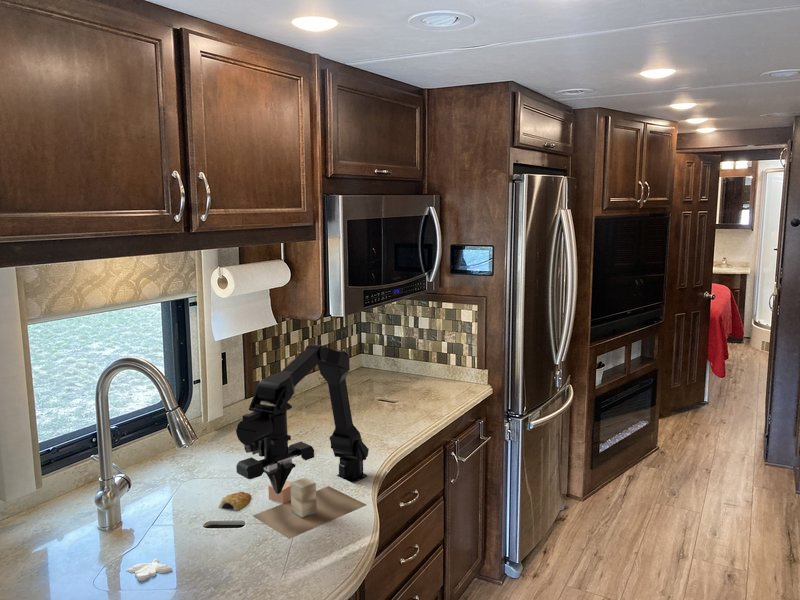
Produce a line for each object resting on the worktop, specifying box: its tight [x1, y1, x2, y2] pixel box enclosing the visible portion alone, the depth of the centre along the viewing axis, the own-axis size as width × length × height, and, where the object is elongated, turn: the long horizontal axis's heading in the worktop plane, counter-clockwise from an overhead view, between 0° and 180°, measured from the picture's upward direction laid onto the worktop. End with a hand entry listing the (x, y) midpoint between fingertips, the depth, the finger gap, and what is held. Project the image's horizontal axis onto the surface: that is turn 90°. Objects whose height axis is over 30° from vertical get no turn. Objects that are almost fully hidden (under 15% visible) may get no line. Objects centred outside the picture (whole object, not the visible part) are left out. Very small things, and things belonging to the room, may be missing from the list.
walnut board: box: [252, 485, 367, 539], centre depth 163 cm, size 24×16×1 cm, turn 134°
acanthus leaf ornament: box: [126, 558, 173, 582], centre depth 139 cm, size 8×7×2 cm
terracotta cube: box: [267, 480, 292, 504], centre depth 170 cm, size 5×5×5 cm
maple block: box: [290, 476, 317, 519], centre depth 161 cm, size 4×4×8 cm
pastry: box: [217, 491, 252, 512], centre depth 168 cm, size 9×7×4 cm
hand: (277, 493), depth 155 cm, fingers closed
